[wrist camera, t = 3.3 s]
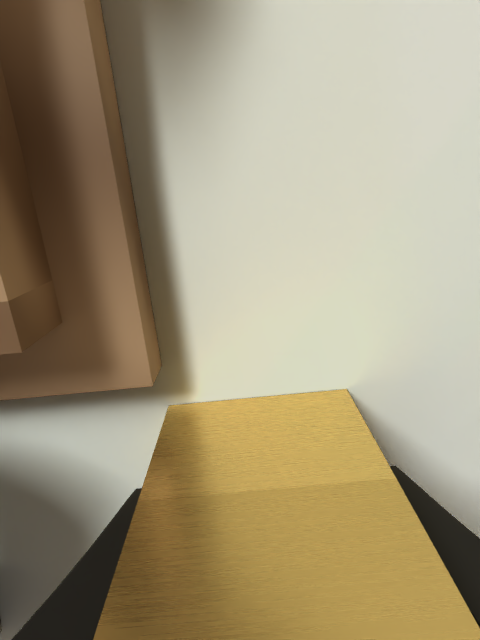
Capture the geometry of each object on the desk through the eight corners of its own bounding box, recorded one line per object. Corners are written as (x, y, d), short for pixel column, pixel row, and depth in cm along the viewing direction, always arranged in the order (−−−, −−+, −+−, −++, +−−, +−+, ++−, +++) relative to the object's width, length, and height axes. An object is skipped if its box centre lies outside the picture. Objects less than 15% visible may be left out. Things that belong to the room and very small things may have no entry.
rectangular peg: (350, 532, 10) (489, 953, 5) (192, 546, 10) (137, 974, 5) (346, 389, 9) (527, 714, 3) (168, 405, 9) (57, 747, 4)
